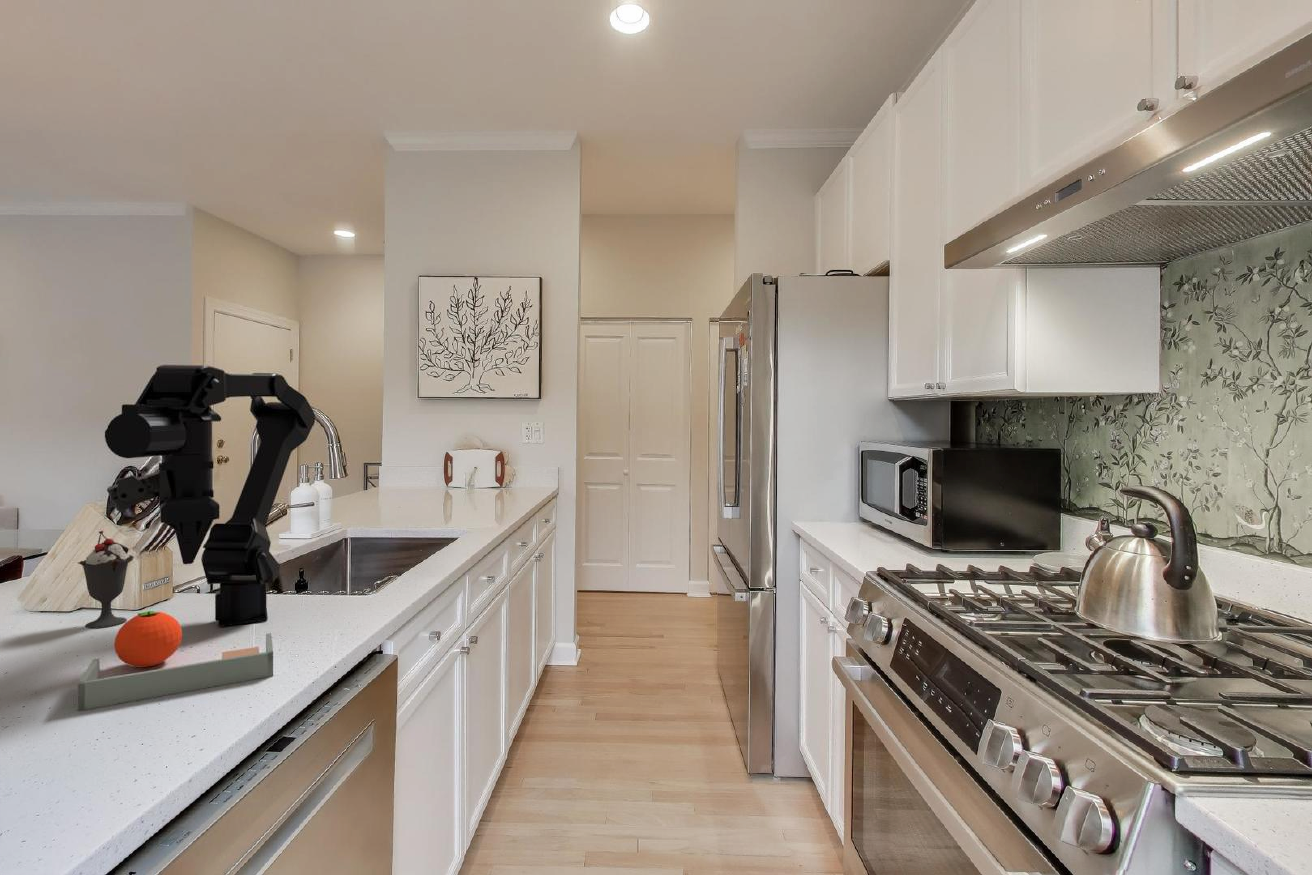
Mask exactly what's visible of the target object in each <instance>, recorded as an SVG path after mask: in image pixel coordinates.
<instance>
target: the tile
mask: <svg viewBox="0 0 1312 875" xmlns="http://www.w3.org/2000/svg"><path fill="white" fill-rule="evenodd" d="M257 653H260V646H254V647H253V646H252V647H248V648H240V649H235V650H228V651H223V652H221V659H226V658H232V657H239V656H245V655H251V654H257Z"/></svg>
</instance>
